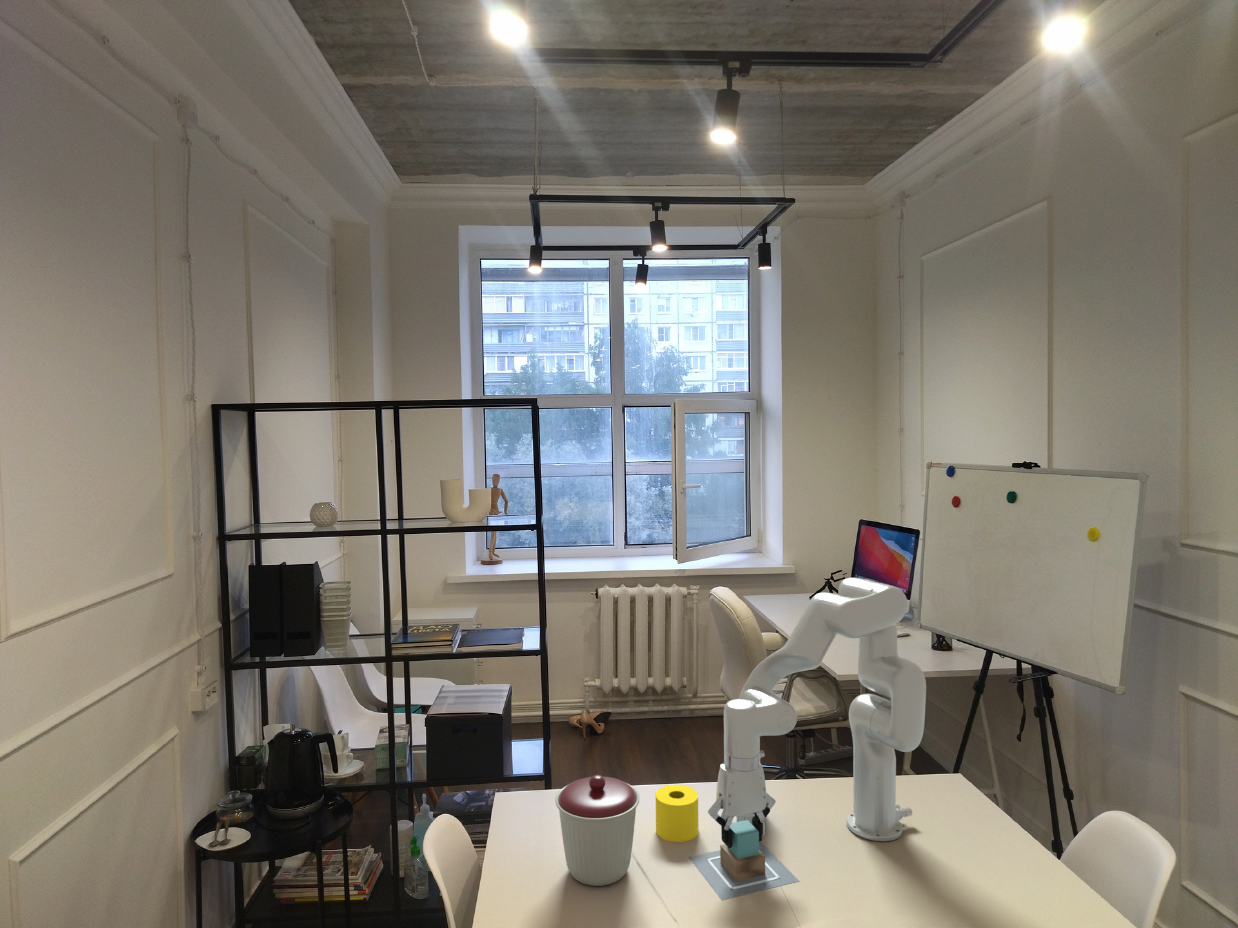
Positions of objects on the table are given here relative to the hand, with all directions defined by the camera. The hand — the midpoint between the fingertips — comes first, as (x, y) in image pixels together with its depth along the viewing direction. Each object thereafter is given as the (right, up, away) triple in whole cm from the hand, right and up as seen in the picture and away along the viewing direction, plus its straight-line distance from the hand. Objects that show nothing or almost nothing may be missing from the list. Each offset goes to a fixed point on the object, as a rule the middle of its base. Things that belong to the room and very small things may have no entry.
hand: (742, 840), depth 158 cm
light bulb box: (+5, -6, +19) cm, 21 cm away
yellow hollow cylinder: (-13, -7, +16) cm, 21 cm away
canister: (-31, -8, +1) cm, 32 cm away
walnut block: (0, -6, 0) cm, 6 cm away
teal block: (0, -2, 0) cm, 2 cm away
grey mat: (0, -7, 0) cm, 7 cm away
